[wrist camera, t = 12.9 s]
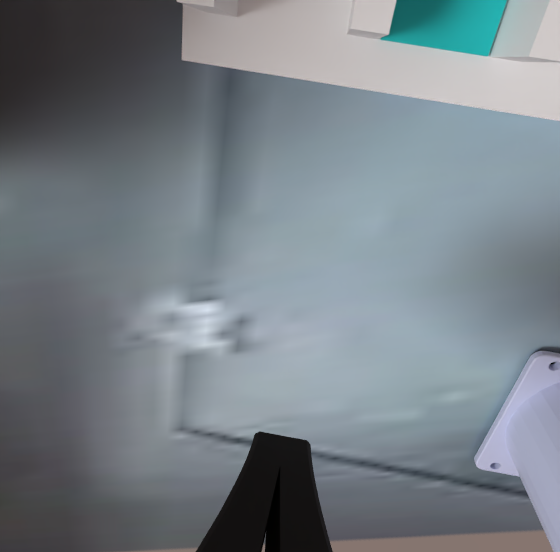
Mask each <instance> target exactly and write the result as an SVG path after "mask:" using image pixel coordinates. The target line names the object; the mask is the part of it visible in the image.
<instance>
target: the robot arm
mask: <svg viewBox="0 0 560 552" xmlns="http://www.w3.org/2000/svg"><path fill="white" fill-rule="evenodd" d="M552 362H556V363H555V364H553V365H550V364H551V363H552ZM474 460H475V463H476V466H477V467H478V468H480V469H483V470H488V471H493V472H498V473H504V474H509V475H514V476H519V477H520V478H521V480H522V482H523V485H524V487H525V489H526V491H527V493H528V496H529V498H530V500H531V502H532V504H533V507H534V509H535V511H536V513H537V516H538V518H539V520H540V522H541V524H542V527H543V529H544V531H545V533H546V535H547V538H548V540H549V542H550V544H551V547H552V549H553V551H554V552H560V353H554V352H549V351H538V352H535V353H534V354H532V355H531V356H530V357H529V359H528V361H527V363H526V365H525V367H524V368H523V370H522V372H521V374H520V376H519V377H518V379H517V381H516V383H515V385H514V387H513V388H512V390H511V392H510V394H509V396H508V397H507V399H506V401H505V403H504V405H503V406H502V408H501V410H500V412H499V414H498V416H497V417H496V419H495V421H494V423H493V425H492V426H491V428H490V430H489V432H488V434H487V435H486V437H485V439H484V441H483V443H482V445H481V446H480V448H479V450H478V452H477V454H476V455H475V458H474ZM265 534H266V543H265V552H332V548H331V545H330V541H329V538H328V534H327V530H326V526H325V522H324V518H323V514H322V511H321V506H320V502H319V498H318V493H317V488H316V483H315V478H314V472H313V465H312V458H311V447H310V444H309V442H308V441H307V440H302V439H296V438H291V437H286V436H280V435H275V434H270V433H264V432H258V433H256V434H255V435H254V439H253V443H252V446H251V448H250V451H249V454H248V456H247V459H246V461H245V463H244V466H243V468H242V470H241V472H240V474H239V476H238V479H237V481H236V483H235V485H234V486H233V488H232V490H231V492H230V494H229V496H228V498H227V500H226V502H225V503H224V505H223V507H222V509H221V511H220V513H219V514H218V516H217V518H216V519H215V521H214V523H213V524H212V526H211V528H210V529H209V531H208V533H207V534H206V536H205V538H204V539H203V541H202V543H201V544H200V546H199V547H198V549H197V551H196V552H261V551H262V547H263V542H264V538H265Z"/></svg>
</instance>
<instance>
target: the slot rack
mask: <svg viewBox="0 0 560 552" xmlns="http://www.w3.org/2000/svg"><path fill="white" fill-rule="evenodd" d="M176 1H177V2H179V3H182V4H183V26H182V60H184V61H190V62H196V63H202V64H209V65H215V66H221V67H227V68H234V69H240V70H246V71H252V72H258V73H265V74H271V75H277V76H283V77H289V78H296V79H302V80H308V81H314V82H321V83H327V84H333V85H339V86H345V87H352V88H358V89H364V90H370V91H376V92H383V93H389V94H395V95H401V96H408V97H414V98H420V99H426V100H432V101H439V102H445V103H451V104H457V105H463V106H470V107H476V108H482V109H488V110H495V111H501V112H507V113H513V114H519V115H526V116H532V117H538V118H544V119H551V120H557V121H560V0H176Z"/></svg>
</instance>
